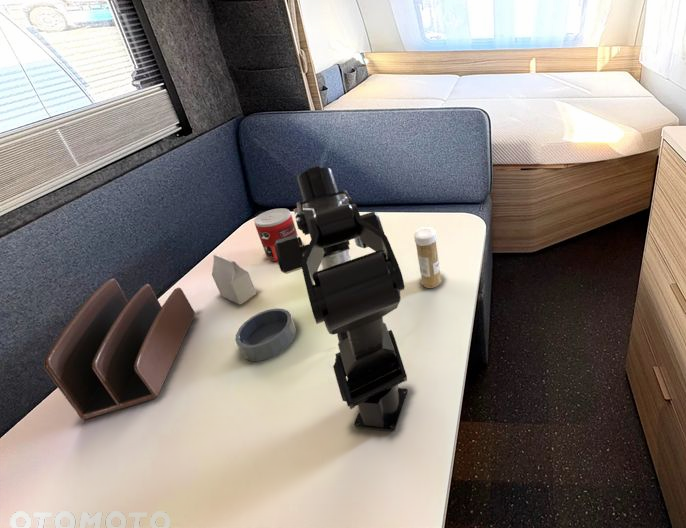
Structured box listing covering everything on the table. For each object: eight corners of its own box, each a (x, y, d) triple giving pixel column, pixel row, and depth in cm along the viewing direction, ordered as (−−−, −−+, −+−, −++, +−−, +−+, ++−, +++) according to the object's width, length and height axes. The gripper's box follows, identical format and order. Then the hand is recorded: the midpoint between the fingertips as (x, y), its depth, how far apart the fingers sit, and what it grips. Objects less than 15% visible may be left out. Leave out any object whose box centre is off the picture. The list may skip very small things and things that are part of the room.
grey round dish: (276, 363, 69) (271, 349, 67) (229, 359, 70) (223, 345, 69) (305, 322, 77) (301, 309, 76) (263, 320, 78) (258, 307, 77)
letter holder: (81, 422, 60) (32, 360, 55) (138, 328, 77) (105, 273, 71) (158, 398, 64) (119, 337, 58) (196, 313, 80) (169, 259, 74)
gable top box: (240, 304, 82) (224, 267, 78) (221, 295, 85) (204, 259, 81) (256, 293, 85) (242, 257, 81) (237, 285, 88) (222, 249, 84)
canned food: (268, 248, 100) (255, 212, 96) (301, 240, 103) (290, 205, 99) (265, 265, 94) (251, 228, 89) (301, 256, 97) (289, 219, 92)
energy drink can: (351, 268, 92) (338, 214, 86) (358, 282, 87) (344, 227, 81) (325, 278, 89) (309, 223, 83) (330, 293, 84) (314, 237, 78)
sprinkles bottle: (445, 283, 86) (439, 233, 80) (426, 291, 84) (418, 241, 78) (436, 272, 90) (430, 223, 84) (418, 280, 87) (410, 230, 82)
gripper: (370, 177, 74) (367, 202, 87) (260, 205, 65) (275, 228, 79) (388, 231, 71) (382, 248, 84) (275, 267, 63) (288, 280, 76)
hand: (333, 249), depth 81 cm, fingers open, 9 cm apart
